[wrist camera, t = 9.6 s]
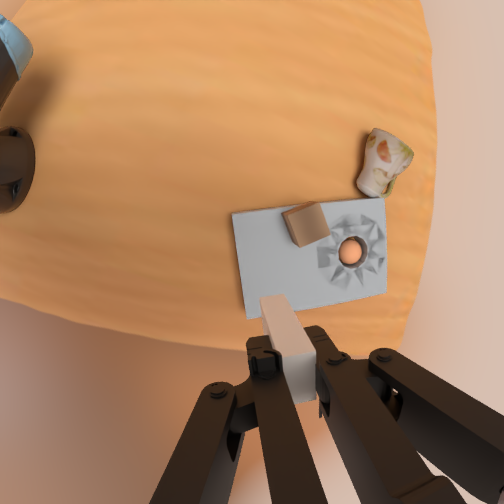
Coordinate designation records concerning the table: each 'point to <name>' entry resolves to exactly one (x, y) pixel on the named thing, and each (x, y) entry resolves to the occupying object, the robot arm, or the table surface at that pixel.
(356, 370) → the robot arm
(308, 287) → the grey flat block
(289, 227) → the walnut cube
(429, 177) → the table surface
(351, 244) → the ball
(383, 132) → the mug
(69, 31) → the table surface
